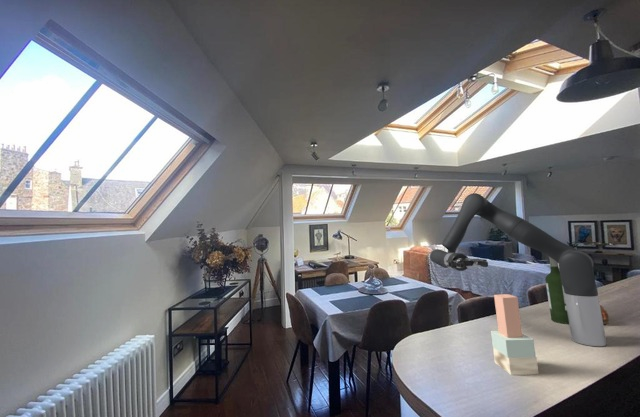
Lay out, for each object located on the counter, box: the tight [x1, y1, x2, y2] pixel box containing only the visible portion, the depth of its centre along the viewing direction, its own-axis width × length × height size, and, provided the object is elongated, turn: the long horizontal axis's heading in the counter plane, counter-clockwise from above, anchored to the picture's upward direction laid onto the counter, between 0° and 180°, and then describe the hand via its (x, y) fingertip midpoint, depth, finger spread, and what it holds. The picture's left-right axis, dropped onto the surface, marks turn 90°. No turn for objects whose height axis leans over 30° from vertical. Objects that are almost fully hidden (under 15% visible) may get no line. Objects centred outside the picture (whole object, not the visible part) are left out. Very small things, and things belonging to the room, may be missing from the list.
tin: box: [600, 304, 610, 325], centre depth 120 cm, size 15×3×8 cm, turn 168°
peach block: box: [493, 293, 523, 338], centre depth 85 cm, size 4×4×12 cm
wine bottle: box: [544, 256, 569, 325], centre depth 123 cm, size 8×8×30 cm
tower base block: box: [492, 346, 540, 376], centre depth 83 cm, size 8×8×5 cm
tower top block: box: [490, 330, 537, 358], centre depth 84 cm, size 8×8×5 cm
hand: (475, 264), depth 103 cm, fingers open, 8 cm apart
